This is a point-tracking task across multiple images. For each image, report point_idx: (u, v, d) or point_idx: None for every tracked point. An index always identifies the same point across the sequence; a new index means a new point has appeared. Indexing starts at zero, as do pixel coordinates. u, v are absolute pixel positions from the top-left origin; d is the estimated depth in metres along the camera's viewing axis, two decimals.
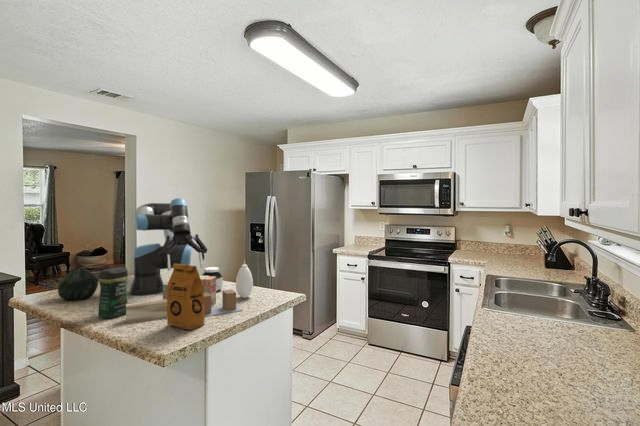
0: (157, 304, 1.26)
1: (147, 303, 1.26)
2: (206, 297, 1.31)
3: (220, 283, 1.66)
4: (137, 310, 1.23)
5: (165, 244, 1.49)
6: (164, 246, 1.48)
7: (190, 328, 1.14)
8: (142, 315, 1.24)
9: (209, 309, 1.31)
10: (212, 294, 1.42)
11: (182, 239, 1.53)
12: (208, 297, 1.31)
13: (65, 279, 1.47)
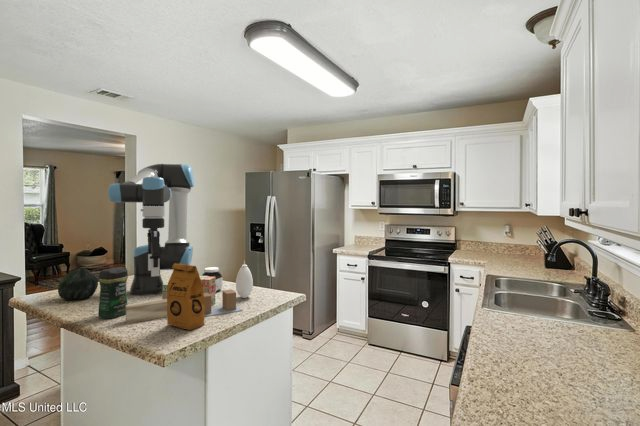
0: (157, 304, 1.27)
1: (147, 303, 1.26)
2: (206, 297, 1.31)
3: (220, 283, 1.66)
4: (138, 310, 1.23)
5: (148, 241, 1.33)
6: (148, 243, 1.34)
7: (190, 328, 1.14)
8: (143, 315, 1.24)
9: (209, 309, 1.31)
10: (211, 294, 1.42)
11: None
12: (208, 297, 1.31)
13: (65, 279, 1.47)
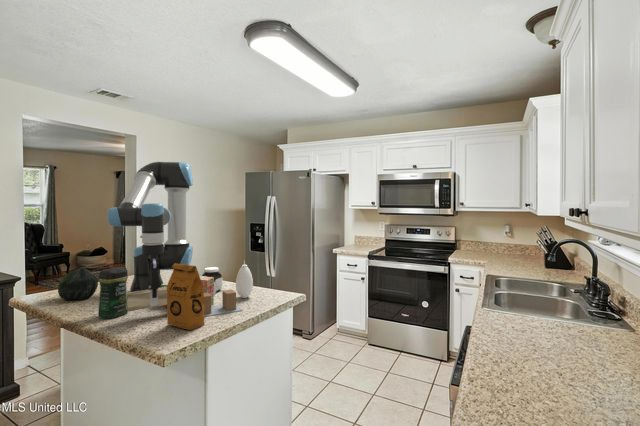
0: (158, 291, 1.27)
1: (148, 291, 1.26)
2: (206, 297, 1.31)
3: (220, 283, 1.66)
4: (139, 298, 1.23)
5: None
6: None
7: (190, 328, 1.14)
8: (144, 302, 1.24)
9: (209, 309, 1.31)
10: None
11: None
12: (208, 297, 1.31)
13: (65, 279, 1.47)
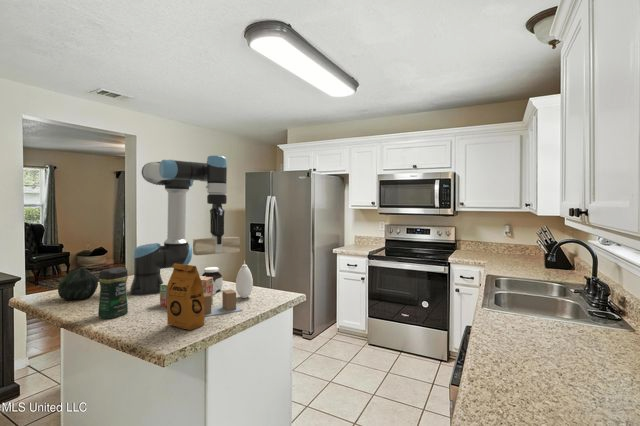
0: (222, 239, 1.34)
1: (212, 238, 1.33)
2: (206, 297, 1.31)
3: (220, 283, 1.66)
4: (205, 244, 1.30)
5: (210, 221, 1.39)
6: (210, 224, 1.39)
7: (190, 328, 1.14)
8: (209, 248, 1.31)
9: (209, 309, 1.31)
10: None
11: None
12: (208, 297, 1.31)
13: (65, 279, 1.47)
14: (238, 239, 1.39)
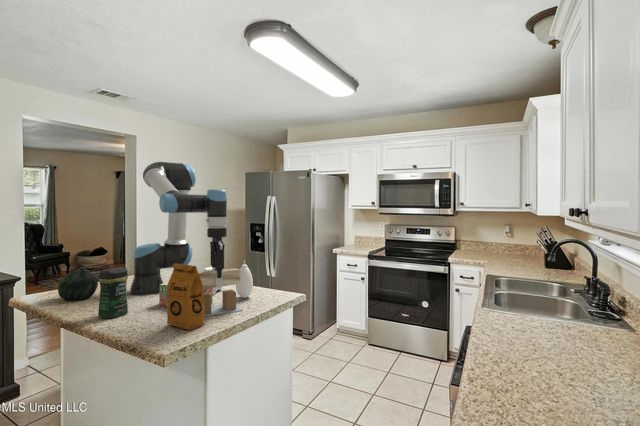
0: (222, 272, 1.35)
1: (212, 272, 1.34)
2: (206, 297, 1.31)
3: None
4: (206, 278, 1.30)
5: None
6: None
7: (190, 328, 1.14)
8: (209, 282, 1.31)
9: (209, 309, 1.31)
10: None
11: None
12: (208, 297, 1.31)
13: (65, 279, 1.47)
14: (238, 271, 1.39)
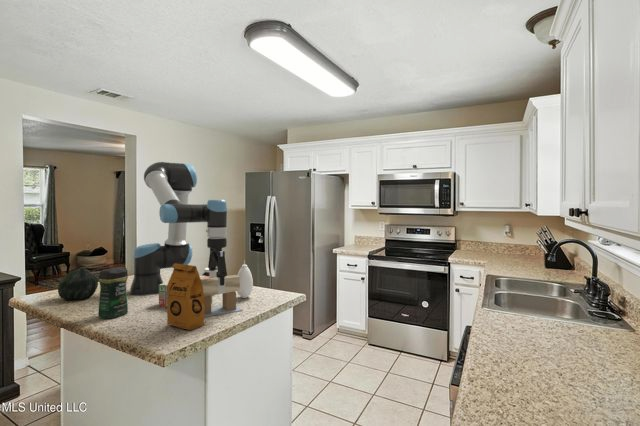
0: None
1: (212, 279, 1.34)
2: (206, 297, 1.31)
3: None
4: (205, 285, 1.31)
5: (209, 258, 1.41)
6: (209, 260, 1.42)
7: (190, 328, 1.14)
8: (209, 290, 1.32)
9: (209, 309, 1.31)
10: None
11: None
12: (208, 297, 1.31)
13: (65, 279, 1.47)
14: (238, 278, 1.39)
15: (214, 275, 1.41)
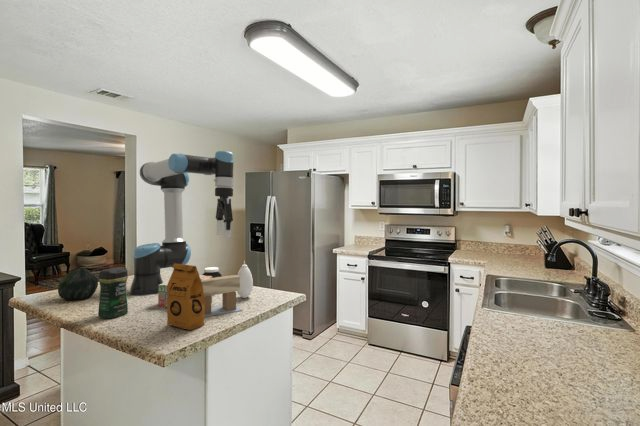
0: (222, 280, 1.35)
1: (212, 279, 1.34)
2: (206, 297, 1.31)
3: None
4: (205, 285, 1.31)
5: (217, 209, 1.50)
6: (216, 211, 1.51)
7: (190, 328, 1.14)
8: (209, 290, 1.32)
9: (209, 309, 1.31)
10: None
11: None
12: (208, 297, 1.31)
13: (65, 279, 1.47)
14: (238, 278, 1.39)
15: (221, 224, 1.50)
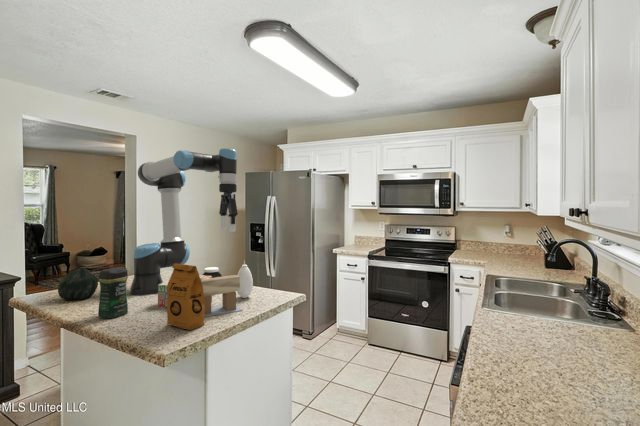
0: (222, 280, 1.35)
1: (212, 279, 1.34)
2: (206, 297, 1.31)
3: None
4: (205, 285, 1.31)
5: (220, 204, 1.56)
6: (220, 206, 1.56)
7: (190, 328, 1.14)
8: (209, 290, 1.32)
9: (209, 309, 1.31)
10: None
11: (225, 199, 1.49)
12: (208, 297, 1.31)
13: (65, 279, 1.47)
14: (238, 278, 1.39)
15: (225, 220, 1.56)
